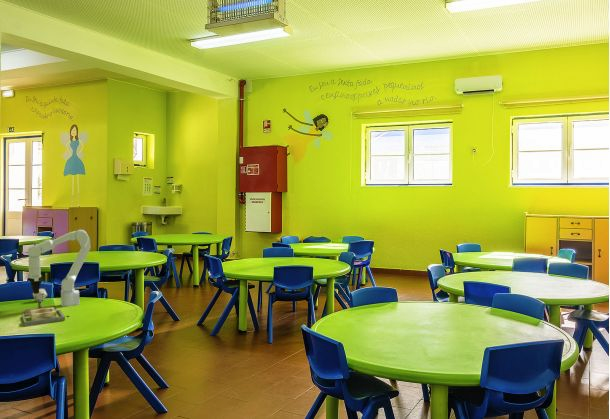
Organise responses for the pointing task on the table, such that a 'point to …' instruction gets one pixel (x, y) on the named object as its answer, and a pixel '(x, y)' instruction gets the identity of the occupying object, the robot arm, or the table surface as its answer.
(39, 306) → the stake board
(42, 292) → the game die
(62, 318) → the tray
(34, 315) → the cream square frame
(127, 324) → the table surface
